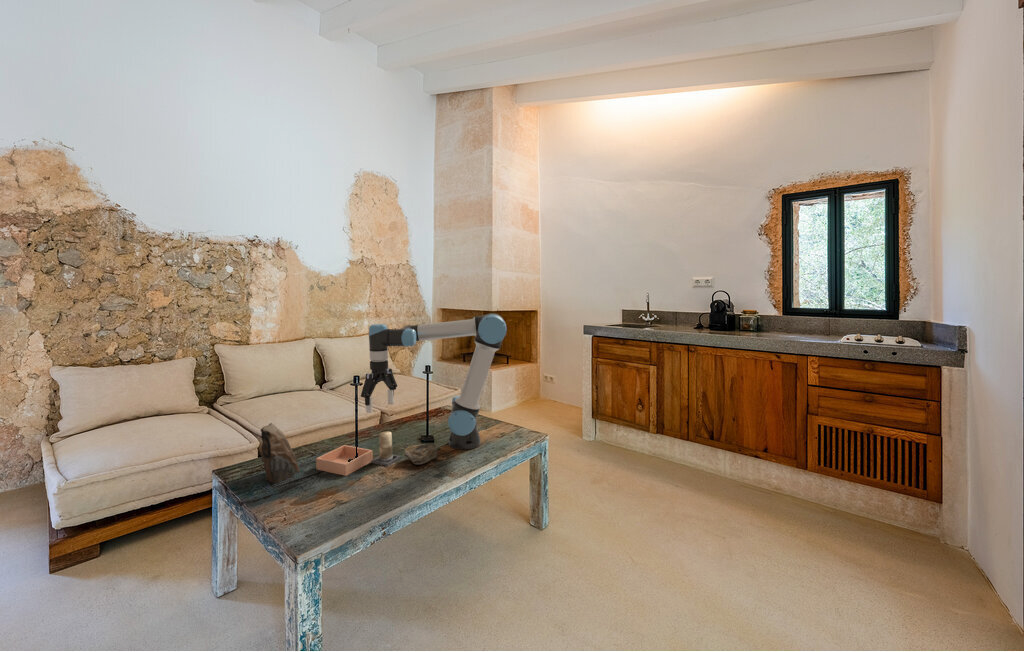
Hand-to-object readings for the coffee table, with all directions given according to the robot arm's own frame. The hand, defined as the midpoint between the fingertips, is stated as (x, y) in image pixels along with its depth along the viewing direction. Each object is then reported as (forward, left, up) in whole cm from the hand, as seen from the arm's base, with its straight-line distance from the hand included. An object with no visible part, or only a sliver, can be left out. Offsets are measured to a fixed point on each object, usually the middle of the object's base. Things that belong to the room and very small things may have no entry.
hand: (380, 408), depth 182 cm
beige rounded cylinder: (-5, +3, -22) cm, 22 cm away
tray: (+8, +13, -22) cm, 27 cm away
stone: (-19, -2, -22) cm, 29 cm away
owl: (+24, +31, -22) cm, 45 cm away
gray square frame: (-5, +3, -22) cm, 22 cm away
